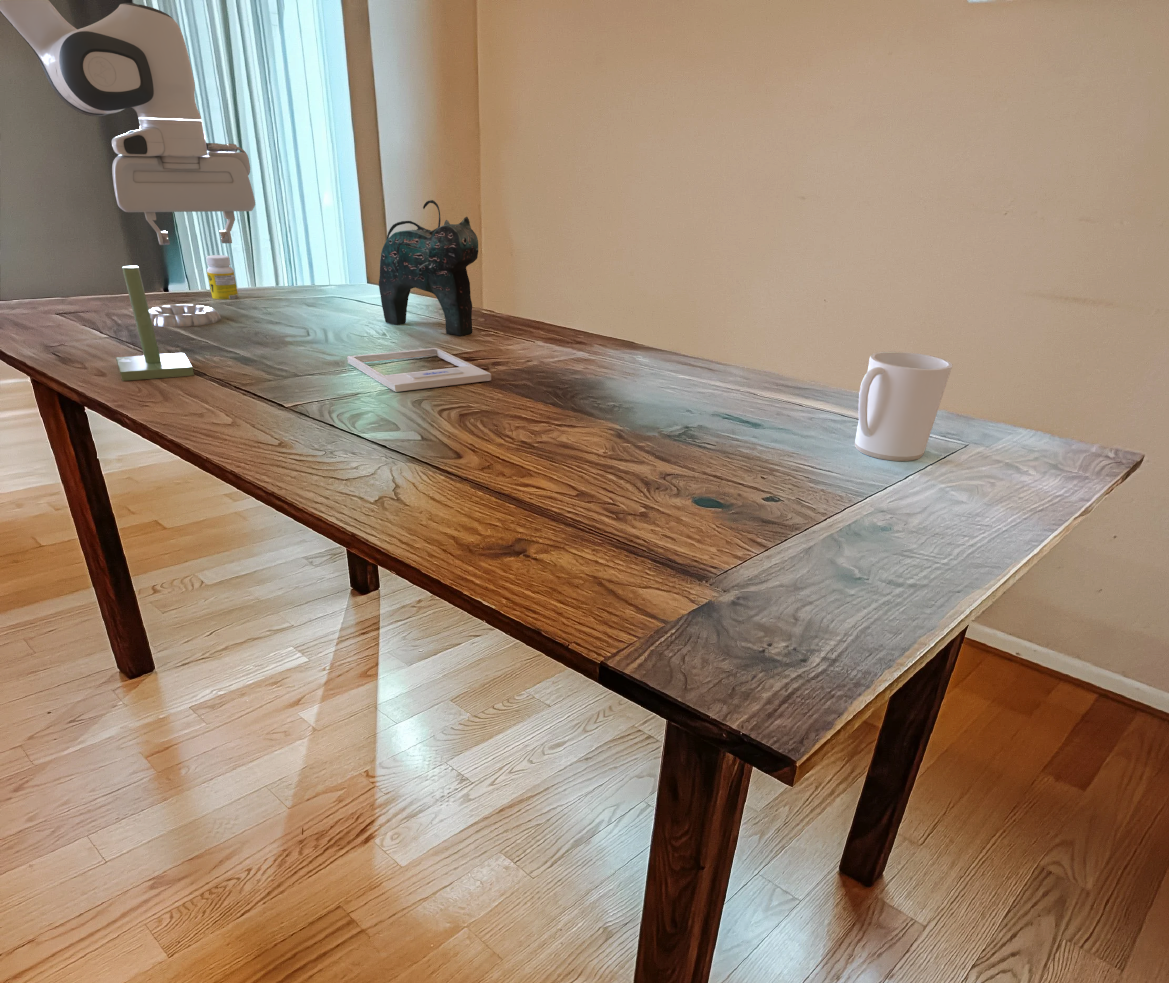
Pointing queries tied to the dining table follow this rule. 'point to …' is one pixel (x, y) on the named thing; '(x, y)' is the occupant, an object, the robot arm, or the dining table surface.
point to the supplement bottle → (221, 277)
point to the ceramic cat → (429, 271)
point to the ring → (183, 315)
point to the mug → (899, 404)
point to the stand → (148, 340)
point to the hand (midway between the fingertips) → (196, 243)
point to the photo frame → (421, 378)
